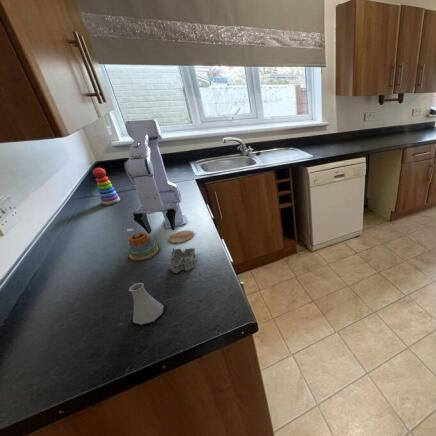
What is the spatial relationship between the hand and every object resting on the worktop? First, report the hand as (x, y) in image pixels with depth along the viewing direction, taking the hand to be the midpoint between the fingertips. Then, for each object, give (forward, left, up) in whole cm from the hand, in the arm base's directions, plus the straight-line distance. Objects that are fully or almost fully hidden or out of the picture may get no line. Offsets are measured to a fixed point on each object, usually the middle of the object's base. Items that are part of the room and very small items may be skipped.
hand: (161, 230), depth 95 cm
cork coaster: (-10, +5, -10) cm, 15 cm away
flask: (+30, -7, -10) cm, 32 cm away
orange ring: (-5, -8, -5) cm, 11 cm away
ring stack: (-5, -8, -10) cm, 14 cm away
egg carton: (+10, +4, -10) cm, 14 cm away
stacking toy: (-70, -23, -10) cm, 75 cm away
